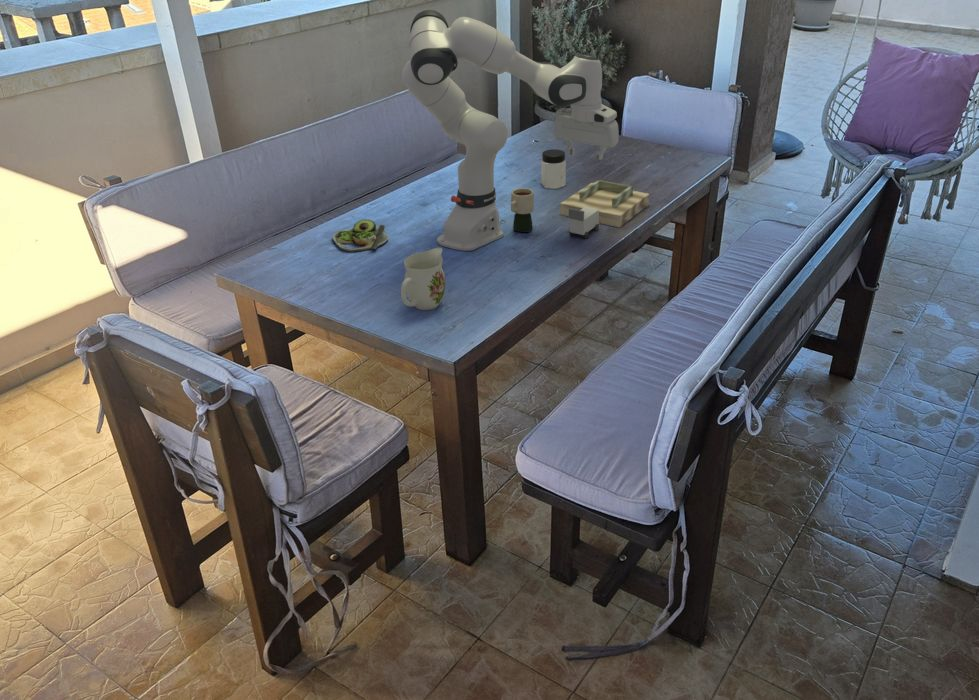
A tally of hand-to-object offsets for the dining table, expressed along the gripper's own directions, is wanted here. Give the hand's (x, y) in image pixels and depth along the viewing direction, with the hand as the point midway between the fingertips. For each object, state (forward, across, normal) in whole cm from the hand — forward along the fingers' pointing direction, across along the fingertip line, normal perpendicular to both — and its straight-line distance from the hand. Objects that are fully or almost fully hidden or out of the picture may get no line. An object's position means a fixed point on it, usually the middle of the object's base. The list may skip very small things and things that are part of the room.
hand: (585, 156), depth 257 cm
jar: (+25, -30, +32) cm, 50 cm away
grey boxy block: (+25, 0, -1) cm, 25 cm away
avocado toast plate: (+25, -59, -40) cm, 76 cm away
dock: (+25, -3, +19) cm, 32 cm away
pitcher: (+24, -14, -66) cm, 71 cm away
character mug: (+25, -18, -8) cm, 32 cm away
